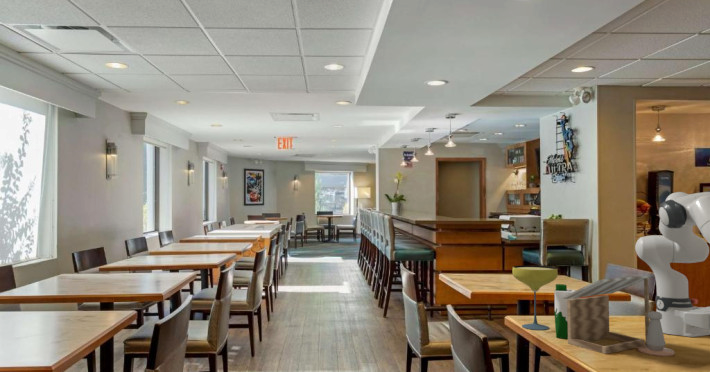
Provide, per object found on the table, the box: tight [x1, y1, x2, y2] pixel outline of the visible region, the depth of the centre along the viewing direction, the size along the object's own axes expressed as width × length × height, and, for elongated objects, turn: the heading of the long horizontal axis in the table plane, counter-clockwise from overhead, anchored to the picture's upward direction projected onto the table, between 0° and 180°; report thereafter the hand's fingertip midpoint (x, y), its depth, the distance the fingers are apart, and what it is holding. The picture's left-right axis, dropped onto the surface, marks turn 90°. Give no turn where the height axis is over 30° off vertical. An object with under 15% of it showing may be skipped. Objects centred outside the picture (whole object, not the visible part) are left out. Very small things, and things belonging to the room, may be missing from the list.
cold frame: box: [563, 274, 650, 355], centre depth 186 cm, size 28×16×25 cm, turn 118°
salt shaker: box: [645, 310, 666, 351], centre depth 176 cm, size 6×6×13 cm
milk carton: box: [554, 283, 581, 340], centre depth 197 cm, size 9×9×20 cm
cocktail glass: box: [512, 264, 559, 331], centre depth 214 cm, size 18×18×25 cm
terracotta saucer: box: [637, 344, 675, 357], centre depth 176 cm, size 11×11×1 cm
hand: (684, 310), depth 168 cm, fingers open, 8 cm apart
